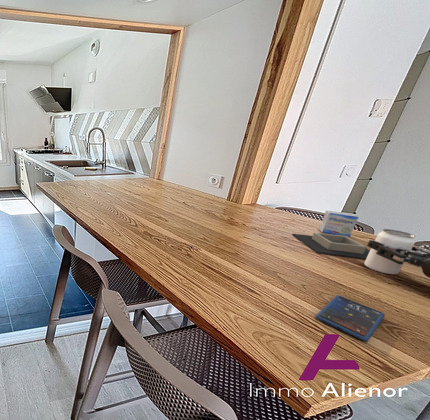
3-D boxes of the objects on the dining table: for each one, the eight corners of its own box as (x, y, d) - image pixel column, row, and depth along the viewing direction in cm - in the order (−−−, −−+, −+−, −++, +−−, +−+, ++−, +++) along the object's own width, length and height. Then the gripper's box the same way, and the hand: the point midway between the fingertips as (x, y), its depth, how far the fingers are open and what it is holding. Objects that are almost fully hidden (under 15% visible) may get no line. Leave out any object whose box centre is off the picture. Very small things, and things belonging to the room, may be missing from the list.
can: (401, 278, 69) (422, 239, 65) (365, 269, 73) (383, 233, 69) (394, 268, 74) (413, 232, 70) (361, 261, 78) (377, 226, 74)
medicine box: (321, 232, 99) (329, 212, 96) (318, 229, 103) (326, 209, 100) (350, 237, 95) (359, 216, 92) (345, 233, 98) (354, 213, 95)
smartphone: (315, 315, 54) (337, 294, 61) (313, 318, 54) (336, 296, 61) (368, 340, 47) (386, 313, 54) (366, 343, 48) (384, 316, 55)
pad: (351, 241, 91) (355, 234, 90) (389, 263, 77) (394, 254, 76) (291, 234, 97) (294, 227, 96) (316, 253, 83) (320, 244, 82)
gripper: (509, 262, 56) (413, 232, 72) (441, 260, 57) (361, 231, 72) (490, 289, 58) (401, 255, 74) (425, 287, 59) (351, 253, 75)
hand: (381, 243), depth 73 cm, fingers closed on can, 6 cm apart
